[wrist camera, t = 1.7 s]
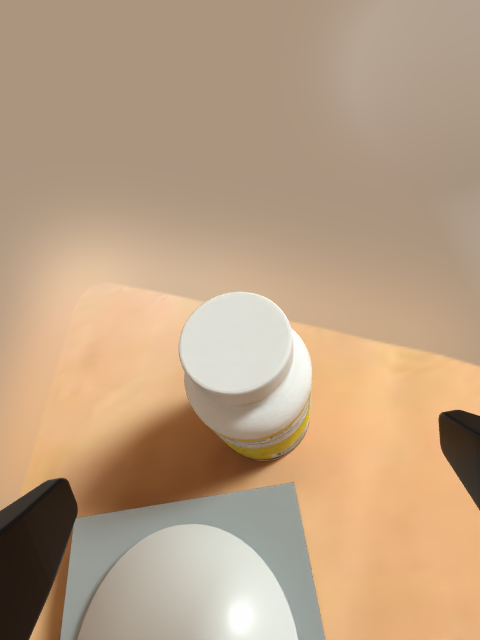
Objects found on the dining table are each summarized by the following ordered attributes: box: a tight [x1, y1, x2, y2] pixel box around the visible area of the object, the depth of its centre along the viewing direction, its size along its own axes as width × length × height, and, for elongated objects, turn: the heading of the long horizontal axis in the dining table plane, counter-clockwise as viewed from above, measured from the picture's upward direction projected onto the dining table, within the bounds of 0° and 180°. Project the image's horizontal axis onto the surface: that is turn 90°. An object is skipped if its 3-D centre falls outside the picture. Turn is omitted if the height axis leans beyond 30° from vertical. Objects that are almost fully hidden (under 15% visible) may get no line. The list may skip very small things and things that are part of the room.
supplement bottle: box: [179, 292, 312, 461], centre depth 15 cm, size 5×5×10 cm
